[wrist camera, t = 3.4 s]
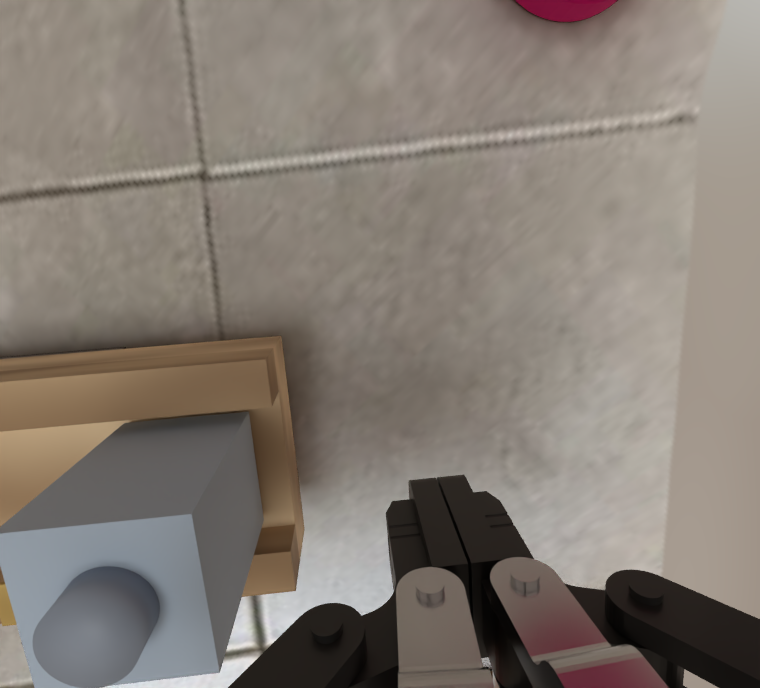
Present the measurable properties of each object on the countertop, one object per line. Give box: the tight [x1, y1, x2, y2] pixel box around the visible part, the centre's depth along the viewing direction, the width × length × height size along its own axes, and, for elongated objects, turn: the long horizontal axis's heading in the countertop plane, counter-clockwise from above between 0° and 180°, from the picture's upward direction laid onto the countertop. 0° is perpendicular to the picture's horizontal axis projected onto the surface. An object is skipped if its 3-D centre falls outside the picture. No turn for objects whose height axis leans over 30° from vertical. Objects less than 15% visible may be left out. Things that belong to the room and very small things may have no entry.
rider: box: [0, 412, 264, 688], centre depth 13 cm, size 4×4×7 cm
